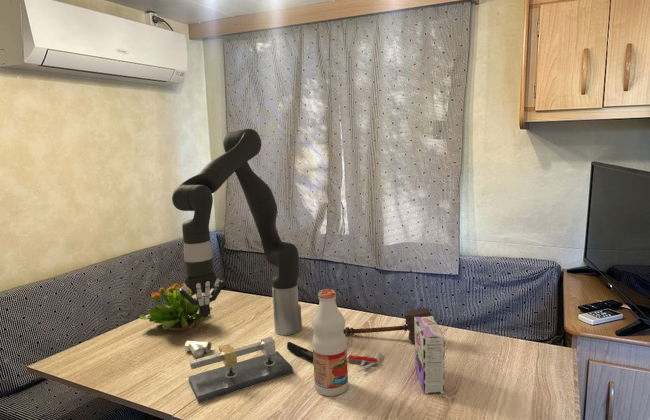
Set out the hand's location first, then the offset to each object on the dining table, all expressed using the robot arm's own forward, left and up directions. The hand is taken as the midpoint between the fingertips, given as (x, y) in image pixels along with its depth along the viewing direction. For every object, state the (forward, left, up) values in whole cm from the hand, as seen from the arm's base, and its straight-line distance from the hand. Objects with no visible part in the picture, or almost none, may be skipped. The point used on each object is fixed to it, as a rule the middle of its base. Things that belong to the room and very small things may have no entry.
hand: (204, 316), depth 122 cm
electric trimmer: (-30, -1, -22) cm, 37 cm away
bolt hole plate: (-9, +1, -21) cm, 23 cm away
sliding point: (-6, -1, -19) cm, 19 cm away
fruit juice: (-29, +20, -21) cm, 41 cm away
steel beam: (-7, -1, -19) cm, 20 cm away
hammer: (-60, +3, -21) cm, 63 cm away
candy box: (-54, +32, -21) cm, 66 cm away
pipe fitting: (-1, -23, -22) cm, 31 cm away
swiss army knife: (-43, +13, -22) cm, 50 cm away
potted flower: (-2, -49, -21) cm, 54 cm away
